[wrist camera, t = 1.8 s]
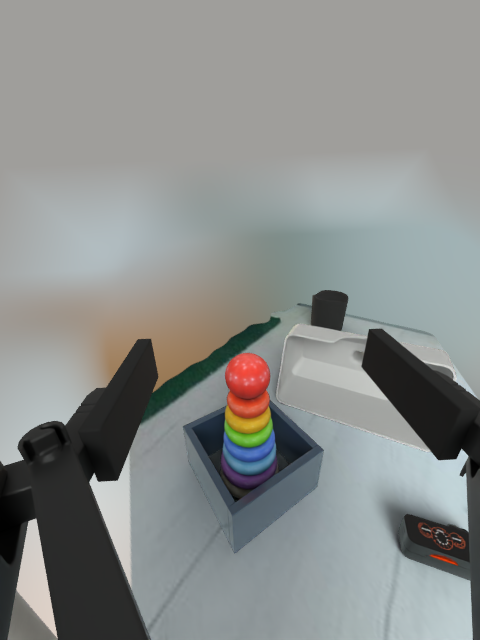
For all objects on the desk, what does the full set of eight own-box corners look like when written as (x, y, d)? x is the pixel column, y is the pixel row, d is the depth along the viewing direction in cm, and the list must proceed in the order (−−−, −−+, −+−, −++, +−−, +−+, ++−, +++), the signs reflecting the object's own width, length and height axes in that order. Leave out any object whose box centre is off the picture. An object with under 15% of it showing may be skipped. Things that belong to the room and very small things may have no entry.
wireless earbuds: (486, 589, 24) (500, 572, 23) (400, 558, 26) (408, 541, 25) (465, 534, 28) (476, 517, 27) (392, 511, 30) (399, 495, 29)
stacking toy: (290, 471, 35) (300, 357, 27) (252, 519, 30) (252, 395, 22) (247, 439, 40) (246, 334, 32) (208, 475, 35) (196, 361, 27)
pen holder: (348, 334, 71) (354, 300, 67) (315, 336, 70) (319, 302, 66) (334, 320, 79) (339, 289, 75) (305, 321, 79) (308, 290, 75)
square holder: (188, 461, 37) (182, 426, 34) (259, 422, 43) (259, 390, 40) (234, 554, 27) (232, 515, 24) (317, 486, 33) (323, 449, 30)
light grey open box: (423, 389, 50) (444, 332, 44) (436, 455, 37) (467, 387, 32) (298, 358, 60) (302, 309, 55) (274, 401, 48) (277, 343, 42)
